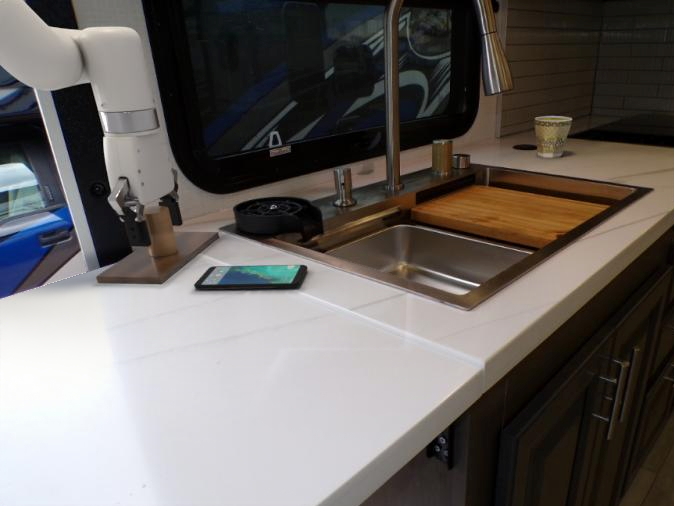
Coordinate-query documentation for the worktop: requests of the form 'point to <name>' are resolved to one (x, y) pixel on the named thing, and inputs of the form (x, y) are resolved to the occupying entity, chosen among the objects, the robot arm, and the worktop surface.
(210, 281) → the smartphone
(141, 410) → the worktop surface
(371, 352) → the worktop surface
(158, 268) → the walnut board
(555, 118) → the ceramic cup
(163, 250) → the wooden cylinder
